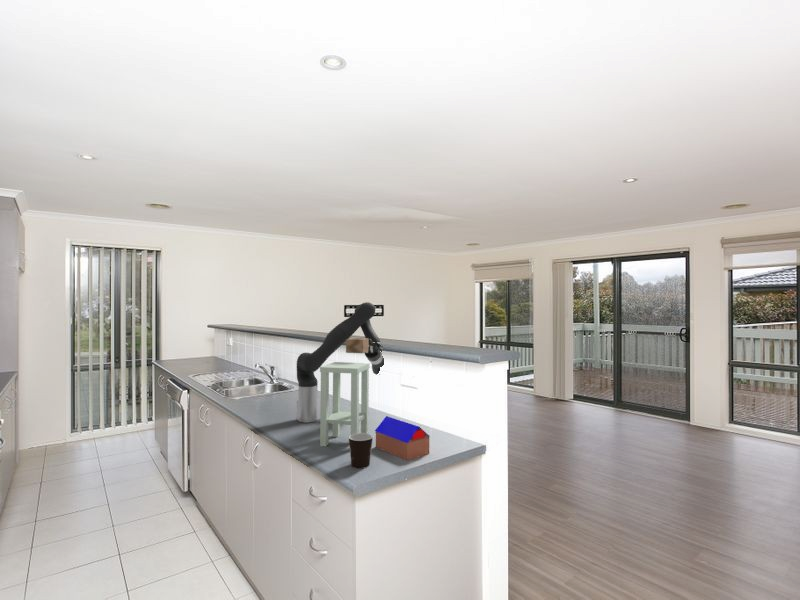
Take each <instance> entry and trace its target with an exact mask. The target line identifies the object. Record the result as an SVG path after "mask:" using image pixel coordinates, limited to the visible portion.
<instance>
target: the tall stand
mask: <svg viewBox="0 0 800 600" xmlns="http://www.w3.org/2000/svg"><path fill="white" fill-rule="evenodd" d="M370 364H371V362H370V363H369V362H368V363H364V362H346V361H345V362H344V361H343V362H342V361H341V362H340V361H334V362H331V363H329V364H325V365H321V367H320V368H319V372H320V401H319V402H320V411H319V414H320V416H319V417H320V418H319V419H320V422H319V423H320V424H319V425H320V427H319V428H320V429H319V430H320V431H319V433H320V434H319V437H320V438H319V440H320V441H319V446H320V447H322V446H325V447H324V448H326V447H328V446H329V424H331V425H332V437H333V438H339V437H340V436H341V425H345V426H346V425H347V426H350V435H352V434H357V433H366V434H369V414H370V413H369V405H370V404H369V401H370V400H369V397H370V394H369V392H370V391H369V390H370V389H369V385H370V383H369V381H370V380H369V379H370V378H369V377H370V367H371V366H370ZM331 373H332V413H330V412H329V409H330V408H329V406H330V405H329V404H330V403H329V401H330V397H329V396H330V389H329V388H330V374H331ZM341 374H350V411H342V410H341ZM360 374H361V375H360ZM360 376H361V379H360ZM360 380H361V384H360ZM360 385H361V386H360ZM360 387H361V388H360ZM360 392H361V395H360ZM360 396H361V399H360ZM360 401H361V402H360ZM360 404H361V405H360ZM360 408H361V409H360ZM360 411H361V412H360ZM329 413H330V414H329ZM359 423H360V425H359ZM359 427H360V428H359ZM327 445H328V446H327Z"/></svg>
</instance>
